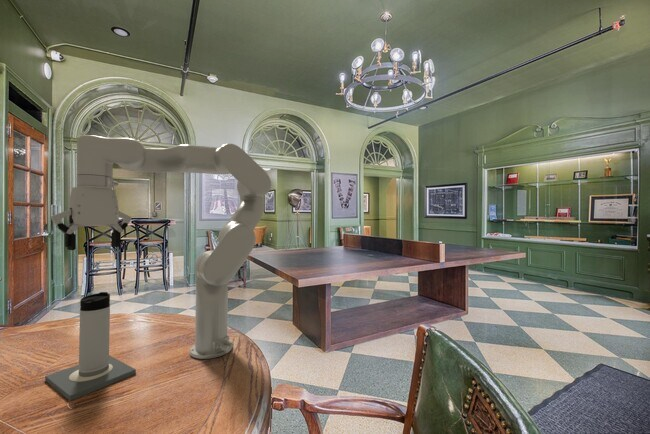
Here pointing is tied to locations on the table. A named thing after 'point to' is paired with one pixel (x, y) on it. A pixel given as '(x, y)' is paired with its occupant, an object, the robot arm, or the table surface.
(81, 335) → the travel mug
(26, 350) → the table surface
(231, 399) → the table surface
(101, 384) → the mat
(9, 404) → the table surface
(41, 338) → the table surface
